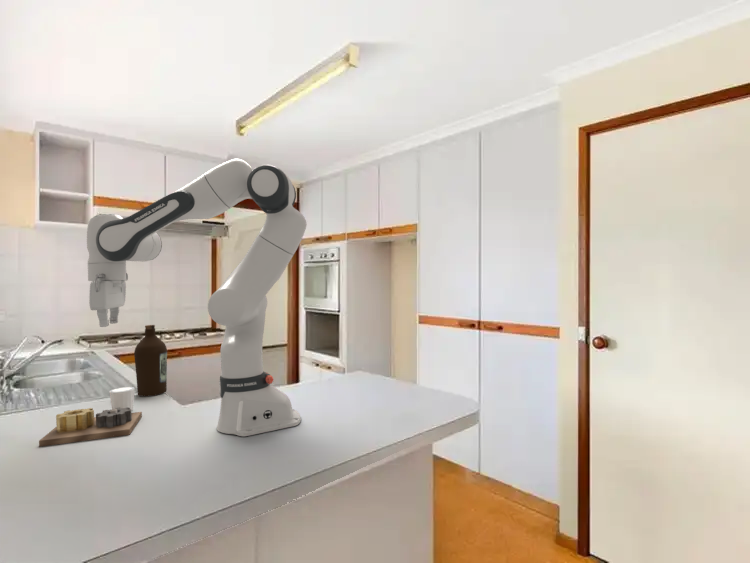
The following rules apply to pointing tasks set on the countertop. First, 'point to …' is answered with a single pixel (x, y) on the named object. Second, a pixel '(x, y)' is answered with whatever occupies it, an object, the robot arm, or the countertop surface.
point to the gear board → (97, 428)
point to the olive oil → (151, 364)
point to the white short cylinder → (122, 397)
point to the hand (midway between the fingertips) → (109, 325)
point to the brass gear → (75, 420)
